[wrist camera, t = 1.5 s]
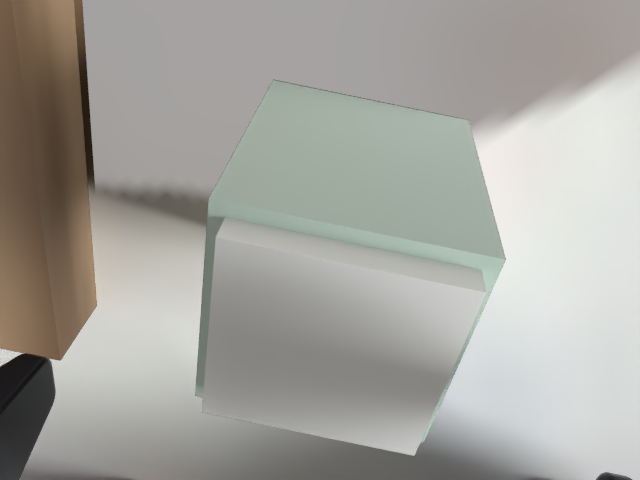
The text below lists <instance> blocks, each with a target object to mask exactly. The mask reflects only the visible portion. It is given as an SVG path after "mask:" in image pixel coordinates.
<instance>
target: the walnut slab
mask: <svg viewBox="0 0 640 480" xmlns="http://www.w3.org/2000/svg"><path fill="white" fill-rule="evenodd" d="M88 183H89V184H91V185H94V186H95V179H94V164H93V150H92V136H91V121H90V105H89V91H88V76H87V61H86V46H85V32H84V17H83V2H82V0H0V348H1V349H6V350H11V351H15V352H20V353H29V354H34V355H39V356H44V357H47V358H50V359H55V360H60V361H61V359H62V358H63V356H64V355H65V353H66V352H67V350H68V349H69V347H70V346H71V344H72V343H73V341H74V340H75V338H76V337H77V335H78V333H79V332H80V330H81V329H82V327H83V326H84V324H85V323H86V321H87V320H88V318H89V317H90V315H91V314H92V312H93V311H94V309H95V308H96V306H97V300H96V287H95V274H94V261H93V247H92V234H91V221H90V208H89V194H88Z"/></svg>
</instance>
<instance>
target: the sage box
mask: <svg viewBox="0 0 640 480" xmlns="http://www.w3.org/2000/svg"><path fill="white" fill-rule="evenodd" d="M505 260H506V258H505V255H504V251H503V247H502V243H501V240H500V236H499V232H498V228H497V225H496V221H495V217H494V213H493V210H492V206H491V202H490V199H489V195H488V191H487V187H486V184H485V180H484V176H483V172H482V169H481V165H480V161H479V158H478V154H477V150H476V146H475V143H474V139H473V135H472V131H471V128H470V124H469V120H467V119H463V118H457V117H453V116H448V115H443V114H438V113H434V112H429V111H423V110H419V109H414V108H409V107H404V106H399V105H395V104H390V103H385V102H380V101H375V100H371V99H365V98H361V97H356V96H351V95H346V94H341V93H337V92H332V91H327V90H322V89H317V88H312V87H307V86H303V85H298V84H293V83H288V82H283V81H278V80H273V81H272V83H271V85H270V87H269V89H268V90H267V92H266V94H265V96H264V98H263V99H262V102H261V103H260V105H259V107H258V109H257V110H256V112H255V114H254V116H253V118H252V120H251V121H250V124H249V125H248V128H247V129H246V131H245V133H244V135H243V136H242V138H241V140H240V142H239V144H238V146H237V147H236V149H235V151H234V153H233V155H232V156H231V158H230V160H229V162H228V164H227V166H226V168H225V169H224V171H223V173H222V175H221V177H220V178H219V180H218V182H217V184H216V186H215V188H214V189H213V191H212V193H211V195H210V197H209V199H208V214H207V229H206V244H205V259H204V274H203V288H202V303H201V318H200V333H199V348H198V363H197V377H196V392H195V396H197V397H202V398H203V404H202V413H206V414H211V415H216V416H221V417H226V418H231V419H236V420H241V421H245V422H250V423H255V424H260V425H265V426H270V427H275V428H280V429H285V430H290V431H295V432H300V433H304V434H309V435H314V436H319V437H324V438H329V439H334V440H339V441H344V442H349V443H354V444H358V445H363V446H368V447H373V448H378V449H383V450H388V451H393V452H398V453H403V454H408V455H412V456H414V455H415V453H416V451H417V449H418V446H419V444H420V442H423V443H424V441H425V439H426V436H427V434H428V432H429V430H430V427H431V425H432V423H433V421H434V418H435V416H436V414H437V412H438V410H439V407H440V405H441V403H442V401H443V398H444V396H445V394H446V392H447V390H448V387H449V385H450V383H451V381H452V378H453V376H454V374H455V372H456V369H457V367H458V365H459V363H460V361H461V358H462V356H463V354H464V352H465V349H466V347H467V345H468V343H469V341H470V338H471V336H472V334H473V332H474V329H475V327H476V325H477V323H478V321H479V318H480V316H481V314H482V312H483V309H484V307H485V305H486V303H487V300H488V298H489V296H490V294H491V292H492V289H493V287H494V285H495V283H496V280H497V278H498V276H499V274H500V272H501V269H502V267H503V265H504V263H505Z"/></svg>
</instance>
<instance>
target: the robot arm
mask: <svg viewBox="0 0 640 480" xmlns="http://www.w3.org/2000/svg"><path fill="white" fill-rule="evenodd" d="M54 399H55V383H54V377H53V370H52V364H51V361H50V359H49V358H47V357H44V356H39V355H34V354H29V353H25V354H21V355H19V356H17V357H15V358H14V359H12V360H10V361H9V362H7V363H6V364H4V365H2V366H1V367H0V480H19V478H20V476H21V474H22V472H23V469H24V467H25V465H26V463H27V461H28V458H29V456H30V454H31V452H32V450H33V447H34V445H35V443H36V441H37V438H38V436H39V434H40V432H41V430H42V427H43V425H44V423H45V421H46V419H47V416H48V414H49V412H50V410H51V407H52V405H53V402H54ZM596 480H632V479H631V478H629V477H626V476H623V475H618V474H613V473H608V472H605V473H602V474H600V475H599V476H598V478H597V479H596Z"/></svg>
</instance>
